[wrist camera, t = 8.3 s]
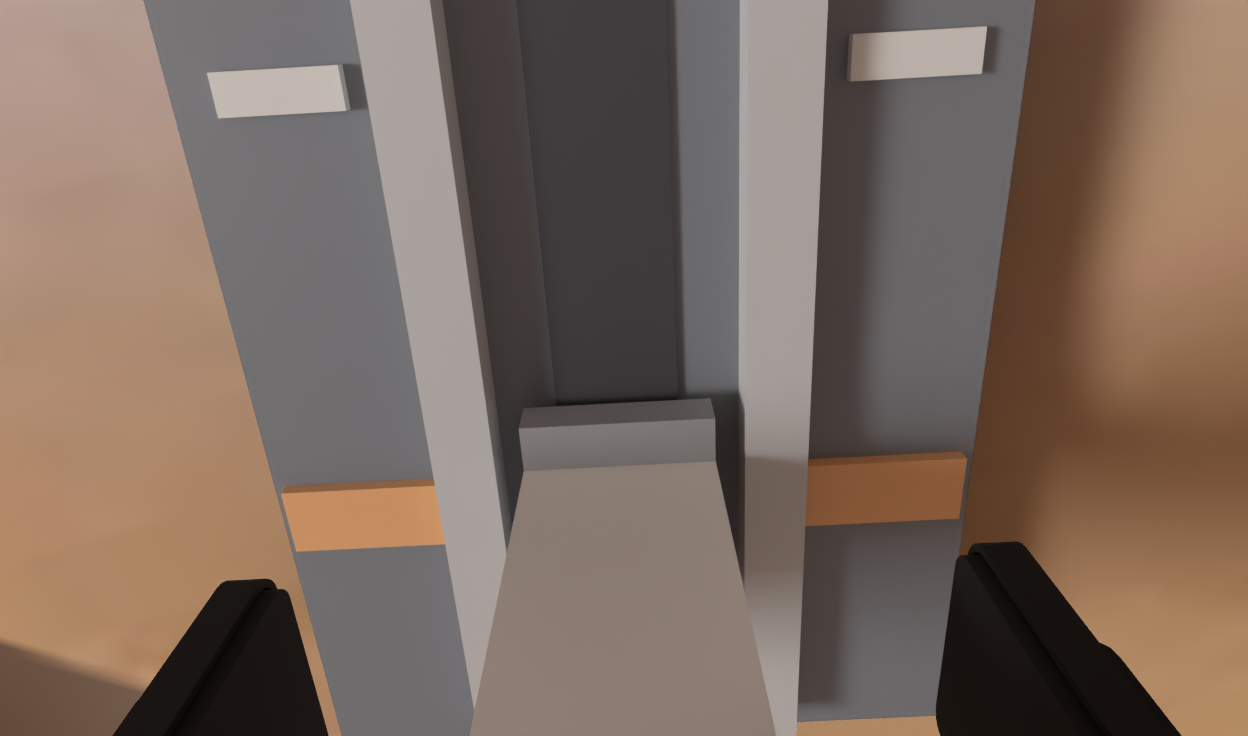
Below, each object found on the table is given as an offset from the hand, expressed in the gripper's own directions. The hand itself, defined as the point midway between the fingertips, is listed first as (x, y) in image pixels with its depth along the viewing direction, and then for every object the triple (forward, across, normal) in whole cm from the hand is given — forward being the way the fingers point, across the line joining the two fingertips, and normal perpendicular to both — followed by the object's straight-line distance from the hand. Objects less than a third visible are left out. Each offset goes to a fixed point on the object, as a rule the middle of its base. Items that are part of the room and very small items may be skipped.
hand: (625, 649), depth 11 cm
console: (+6, 0, -6) cm, 8 cm away
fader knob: (+3, 0, 0) cm, 3 cm away
